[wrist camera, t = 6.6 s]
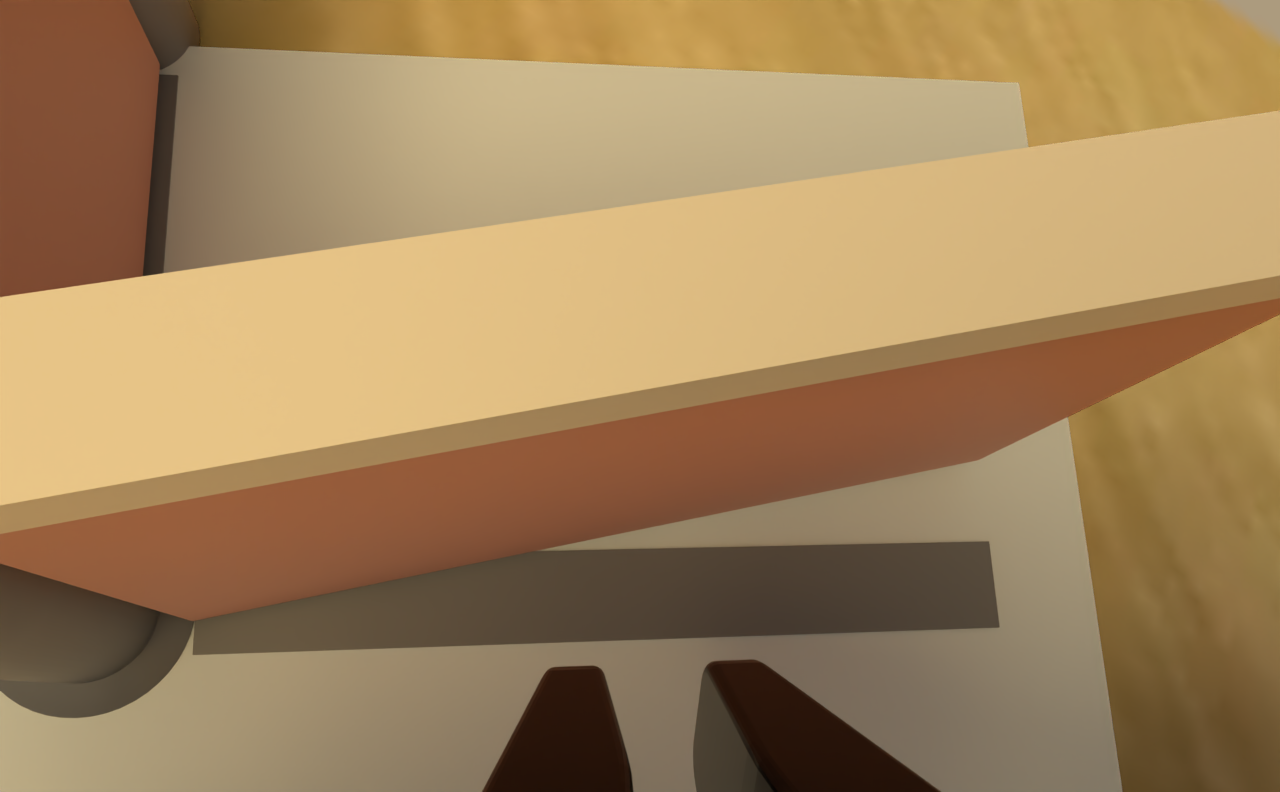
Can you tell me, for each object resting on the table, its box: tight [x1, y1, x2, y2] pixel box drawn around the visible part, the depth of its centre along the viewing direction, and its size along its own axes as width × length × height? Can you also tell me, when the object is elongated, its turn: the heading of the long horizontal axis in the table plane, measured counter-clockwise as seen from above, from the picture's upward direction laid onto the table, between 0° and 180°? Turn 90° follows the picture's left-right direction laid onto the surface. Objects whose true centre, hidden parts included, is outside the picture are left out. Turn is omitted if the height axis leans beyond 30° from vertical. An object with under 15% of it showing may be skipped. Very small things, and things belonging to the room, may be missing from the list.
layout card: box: [0, 46, 1123, 792], centre depth 15 cm, size 16×15×1 cm
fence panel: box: [0, 111, 1280, 621], centre depth 11 cm, size 11×1×8 cm, turn 103°
